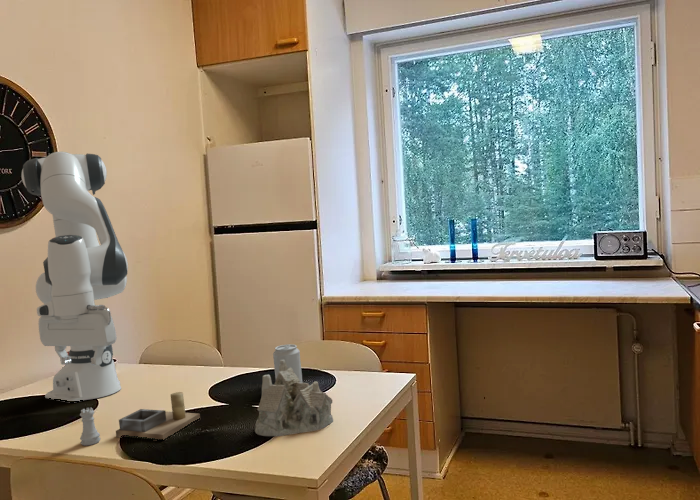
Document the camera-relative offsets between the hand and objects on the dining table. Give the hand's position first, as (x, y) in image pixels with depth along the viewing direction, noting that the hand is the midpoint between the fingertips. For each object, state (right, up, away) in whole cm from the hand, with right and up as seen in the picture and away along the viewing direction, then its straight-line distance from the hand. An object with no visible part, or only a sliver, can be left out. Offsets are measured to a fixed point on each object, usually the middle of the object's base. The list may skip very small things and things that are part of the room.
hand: (81, 364), depth 144 cm
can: (+45, -13, +32) cm, 57 cm away
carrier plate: (+16, -17, +7) cm, 24 cm away
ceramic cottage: (+49, -15, +1) cm, 52 cm away
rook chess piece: (+2, -19, +2) cm, 19 cm away
